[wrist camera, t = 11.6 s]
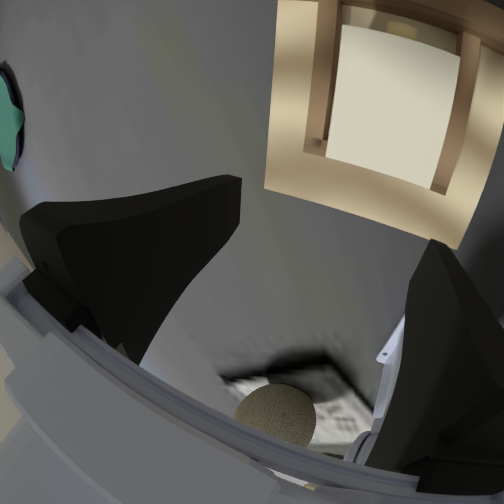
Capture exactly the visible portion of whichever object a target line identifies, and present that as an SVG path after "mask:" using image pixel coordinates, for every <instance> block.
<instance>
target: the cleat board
mask: <svg viewBox="0 0 504 504" xmlns="http://www.w3.org/2000/svg"><path fill="white" fill-rule="evenodd" d="M388 21H392V22H399V23H403V24H406V25H409V26H412V27H414V28H416V29H417V39H416V41H417V42H420V43H424V44H427V45H430V46H433V47H435V48H438V49H441V50H444V51H446V52H449V53H452V54H454V55H457V56H459V57H460V64H459V71H458V77H457V83H456V89H455V95H454V100H453V105H452V110H451V114H450V119H449V123H448V127H447V131H446V135H445V139H444V143H443V147H442V150H441V154H440V158H439V161H438V164H437V168H436V171H435V174H434V177H433V180H432V184H431V187H430V190H429V189H426V188H424V187H421V186H418V185H415V184H413V183H410V182H407V181H404V180H401V179H398V178H395V177H392V176H389V175H386V174H383V173H379V172H376V171H373V170H370V169H366V168H363V167H360V166H356V165H353V164H349V163H346V162H342V161H338V160H334V159H331V158H327V157H325V156H326V150H327V144H328V137H329V131H330V124H331V117H332V110H333V103H334V95H335V88H336V79H337V71H338V62H339V53H340V43H341V33H342V24H343V25H350V26H355V27H361V28H366V29H371V30H375V31H380V32H384V33H386V29H387V22H388ZM503 123H504V10H502V9H501V8H499V7H497V6H495V5H493V4H491V3H489V2H486V1H484V0H278V11H277V26H276V40H275V54H274V68H273V82H272V95H271V108H270V122H269V135H268V147H267V160H266V173H265V185H264V188H265V189H268V190H272V191H276V192H280V193H284V194H287V195H291V196H295V197H298V198H302V199H305V200H309V201H312V202H316V203H319V204H323V205H326V206H329V207H333V208H336V209H339V210H343V211H346V212H349V213H352V214H355V215H359V216H362V217H365V218H368V219H371V220H374V221H377V222H380V223H383V224H386V225H389V226H392V227H395V228H398V229H401V230H404V231H407V232H409V233H412V234H415V235H418V236H421V237H423V238H426V239H429V240H430V239H431V238H432V239H435V240H437V241H440V242H442V243H445V244H446V245H447V246H448V247H450V248H453V249H455V250H457V248H458V246H459V244H460V242H461V240H462V238H463V236H464V234H465V232H466V229H467V227H468V225H469V223H470V220H471V218H472V216H473V213H474V211H475V209H476V206H477V204H478V201H479V199H480V196H481V194H482V191H483V188H484V186H485V183H486V180H487V177H488V174H489V171H490V168H491V165H492V162H493V159H494V156H495V153H496V149H497V146H498V142H499V138H500V135H501V131H502V127H503Z"/></svg>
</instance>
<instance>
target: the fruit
mask: <svg viewBox="0 0 504 504" xmlns="http://www.w3.org/2000/svg"><path fill="white" fill-rule="evenodd" d="M233 419H235V420H237V421H239V422H241V423H244V424H246V425H248V426H250V427H253V428H255V429H257V430H260V431H262V432H264V433H267V434H269V435H272V436H274V437H277V438H279V439H282V440H284V441H287V442H290V443H292V444H295V445H298V446H301V447H303V448H306V447H307V446H308V444H309V442H310V441H311V439H312V436H313V433H314V430H315V426H316V412H315V408H314V405H313V403H312V401H311V399H310V398H309V397H308V396H307V395H306V394H305V393H303V392H302V391H300V390H298V389H296V388H294V387H292V386H289V385H286V384H269V385H265V386H263V387H260V388H258V389H256V390H255V391H253V392H252V393H251V394H249V395H248V396H247V397H246V398H245V399H244V400H243V401H242V402H241V403H240V405H239V406H238V408H237V409H236V411H235V413H234V415H233Z"/></svg>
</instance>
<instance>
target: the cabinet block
mask: <svg viewBox="0 0 504 504" xmlns="http://www.w3.org/2000/svg"><path fill="white" fill-rule="evenodd" d="M416 39H417V29H416V28H414V27H412V26H409V25H406V24H403V23H399V22H392V21H388V22H387V29H386V33H384V32H380V31H375V30H371V29H366V28H361V27H355V26H350V25H343V24H342V33H341V43H340V53H339V62H338V71H337V79H336V88H335V95H334V103H333V110H332V117H331V124H330V131H329V137H328V144H327V150H326V156H325V157H327V158H331V159H334V160H338V161H342V162H346V163H349V164H353V165H356V166H360V167H363V168H366V169H370V170H373V171H376V172H379V173H383V174H386V175H389V176H392V177H395V178H398V179H401V180H404V181H407V182H410V183H413V184H415V185H418V186H421V187H424V188H426V189H429V190H430V187H431V184H432V180H433V177H434V174H435V171H436V168H437V164H438V161H439V158H440V154H441V150H442V147H443V143H444V139H445V135H446V131H447V127H448V123H449V119H450V114H451V110H452V105H453V100H454V95H455V89H456V83H457V77H458V71H459V64H460V57H459V56H457V55H454V54H452V53H449V52H446V51H444V50H441V49H438V48H435V47H433V46H430V45H427V44H424V43H420V42H417V41H416Z"/></svg>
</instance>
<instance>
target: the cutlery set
mask: <svg viewBox="0 0 504 504" xmlns="http://www.w3.org/2000/svg"><path fill="white" fill-rule="evenodd" d="M23 121H24V113H23V112H22V111H21V110H19V109H18V108H16V105H15V100H14V95H13V92H12V89H11V86H10V82H9V80H8V78H7V77H6V75H5V73H4V72H2V68H0V159H1V161H2V163H3V166H4V167H5V168H6V169H7V170H10V171H12V172H13V171H14V170H15V167H16V166H17V162H18V159H19V148H20V137H19V130H20V128H21V126H22V124H23Z"/></svg>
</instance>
